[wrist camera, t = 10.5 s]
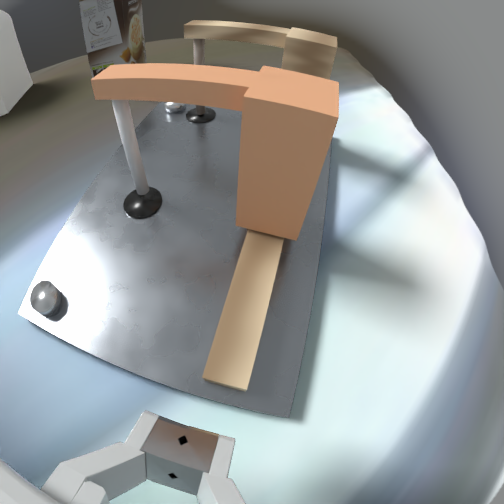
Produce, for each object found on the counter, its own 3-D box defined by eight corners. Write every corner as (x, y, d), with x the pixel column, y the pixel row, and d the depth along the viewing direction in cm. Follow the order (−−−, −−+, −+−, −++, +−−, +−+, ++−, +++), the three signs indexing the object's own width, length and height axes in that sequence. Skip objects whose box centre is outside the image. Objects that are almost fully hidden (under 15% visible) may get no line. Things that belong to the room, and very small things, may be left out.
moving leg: (120, 207, 20) (79, 88, 11) (143, 171, 22) (120, 58, 13) (293, 249, 19) (338, 117, 11) (302, 205, 21) (338, 82, 13)
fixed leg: (67, 326, 16) (-40, 235, 7) (199, 105, 29) (197, 18, 20) (259, 394, 15) (307, 368, 6) (314, 127, 29) (336, 37, 19)
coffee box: (133, 88, 34) (121, -11, 20) (95, 94, 33) (77, 1, 20) (148, 65, 39) (141, -18, 25) (113, 70, 38) (102, -10, 24)
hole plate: (26, 318, 17) (10, 308, 15) (165, 106, 31) (163, 91, 29) (285, 417, 15) (292, 418, 14) (329, 136, 30) (334, 120, 28)
